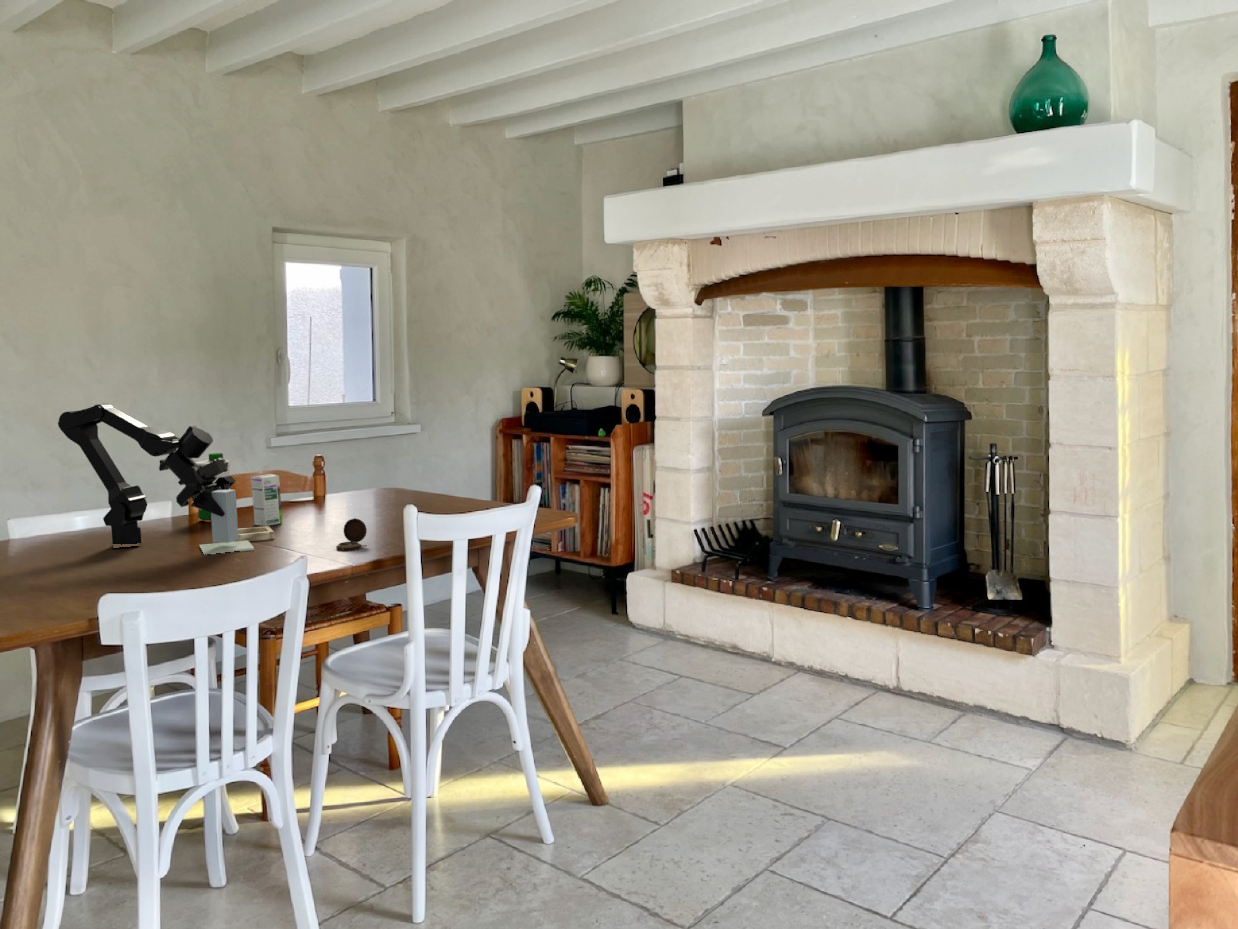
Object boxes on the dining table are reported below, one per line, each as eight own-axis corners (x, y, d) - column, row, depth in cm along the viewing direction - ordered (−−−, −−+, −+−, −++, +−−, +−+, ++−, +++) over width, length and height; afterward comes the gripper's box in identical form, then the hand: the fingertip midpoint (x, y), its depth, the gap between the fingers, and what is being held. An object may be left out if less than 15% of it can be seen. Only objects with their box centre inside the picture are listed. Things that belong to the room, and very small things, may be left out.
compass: (331, 551, 254) (330, 523, 253) (346, 545, 262) (345, 517, 261) (361, 552, 252) (359, 523, 252) (374, 545, 260) (373, 518, 259)
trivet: (203, 555, 251) (203, 552, 251) (199, 547, 262) (199, 544, 262) (254, 550, 257) (254, 547, 257) (247, 542, 267) (247, 540, 267)
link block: (212, 542, 257) (209, 492, 256) (222, 538, 262) (219, 489, 260) (228, 542, 257) (225, 492, 255) (238, 539, 261) (235, 489, 259)
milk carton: (237, 518, 306) (233, 453, 303) (217, 523, 297) (213, 456, 295) (213, 517, 308) (208, 452, 306) (192, 522, 300) (188, 456, 297)
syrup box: (265, 526, 290) (262, 477, 289) (253, 524, 294) (250, 475, 292) (282, 523, 295) (279, 474, 293) (270, 521, 298) (268, 473, 297)
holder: (235, 542, 267) (235, 535, 267) (231, 536, 276) (230, 529, 275) (274, 538, 271) (274, 531, 271) (268, 533, 280) (268, 526, 280)
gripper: (183, 453, 248) (227, 497, 247) (226, 445, 266) (266, 487, 265) (157, 484, 250) (200, 528, 250) (201, 474, 268) (241, 515, 268)
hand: (228, 513), depth 258 cm, fingers closed on link block, 4 cm apart
